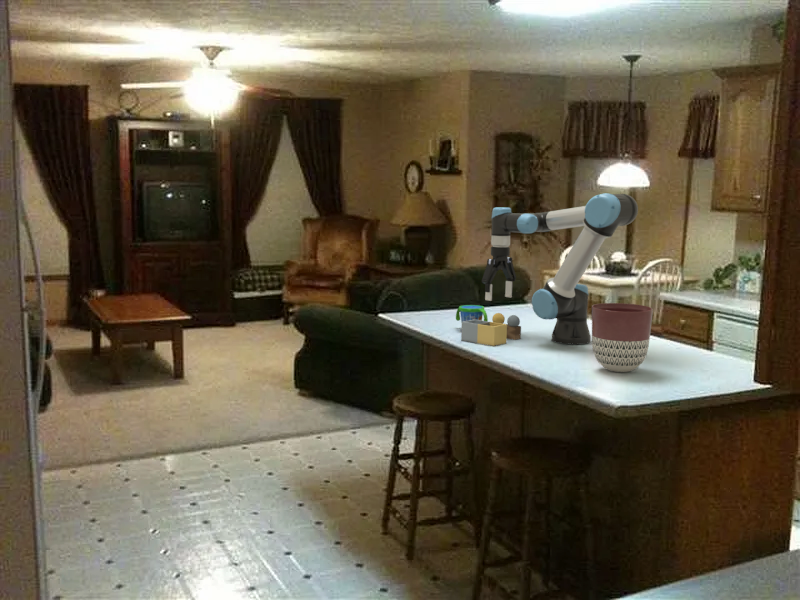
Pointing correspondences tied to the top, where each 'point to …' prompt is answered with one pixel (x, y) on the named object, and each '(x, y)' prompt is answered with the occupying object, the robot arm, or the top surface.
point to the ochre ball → (498, 318)
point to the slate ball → (513, 321)
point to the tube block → (484, 332)
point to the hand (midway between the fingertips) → (498, 298)
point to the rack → (513, 332)
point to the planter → (620, 335)
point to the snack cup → (471, 313)
